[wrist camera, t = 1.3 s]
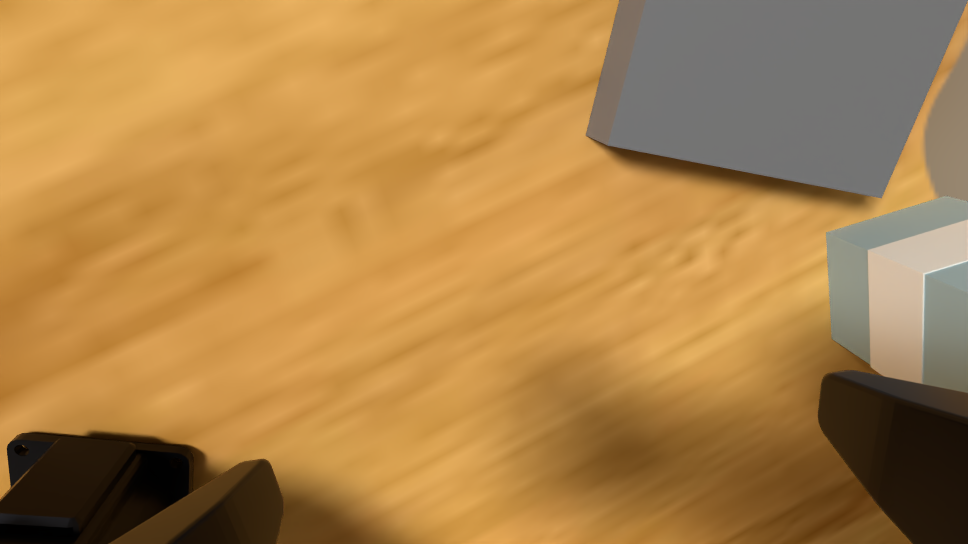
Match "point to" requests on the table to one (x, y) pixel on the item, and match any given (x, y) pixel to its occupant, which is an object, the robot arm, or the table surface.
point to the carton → (904, 292)
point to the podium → (773, 84)
